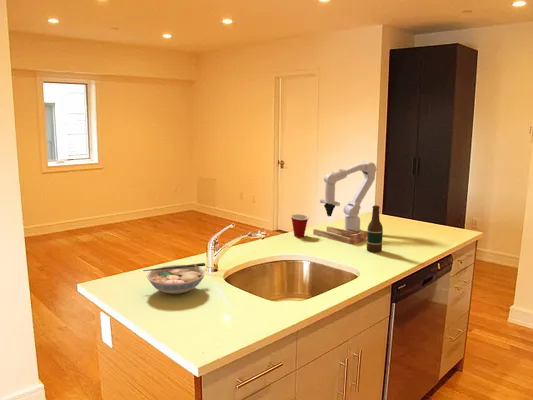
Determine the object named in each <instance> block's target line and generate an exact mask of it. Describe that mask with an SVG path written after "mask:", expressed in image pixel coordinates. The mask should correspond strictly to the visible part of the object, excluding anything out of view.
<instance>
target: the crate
mask: <svg viewBox="0 0 533 400" xmlns="http://www.w3.org/2000/svg"><path fill="white" fill-rule="evenodd" d="M357 233H360V231H355V230H351V229H347V230H342V231H341V236H345V237H349V238H350V235H353V234H357Z"/></svg>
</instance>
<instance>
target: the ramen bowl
mask: <svg viewBox="0 0 533 400" xmlns="http://www.w3.org/2000/svg"><path fill="white" fill-rule="evenodd" d="M202 267H206V262H200V263H193V264H191V263H190V264H171V265H164V266H161V267H160V266H159V267H157V268H153V269H152V268H151V269H143V270H142V271H143V272H148V271H149V272H148V273H147V274H146V278H147V280H148V281H149V282H150V284H151V285H152V286H153V287H154V289H155V290H157V291H160V292H162V293H166V294H170V295H181V294H184V293H186V292H188V291H191V290H194V289H195V288H196V287H197V286H198V285H200V284H201V282H202V280H203V279H204V276H205V275H206V273H205V272H206V270H204V268H202Z"/></svg>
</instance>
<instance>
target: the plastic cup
mask: <svg viewBox="0 0 533 400" xmlns="http://www.w3.org/2000/svg"><path fill="white" fill-rule="evenodd" d="M290 218H291V223H292V229H293V235H294V237H295V238H296V237H297V238H303V237H305V233H306V230H307V229H306V228H307V223H308V221H309V219H310V217H309V216H308V215H305V214H292V215H290Z"/></svg>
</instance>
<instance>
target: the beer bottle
mask: <svg viewBox="0 0 533 400" xmlns="http://www.w3.org/2000/svg"><path fill="white" fill-rule="evenodd" d="M380 207H381V206H380V205H373V206H372V214H371V221H370V222H369V223H368V226H367V229H366V232H367V241H366V251H367V252H369V253H372V252H373V253H374V254H377V253H378V252H379V253H381V252H382V249H383V234H384V233H383V230H384V228H383V224H382V223H381V220H380V209H381V208H380ZM379 253H378V254H379Z"/></svg>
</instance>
